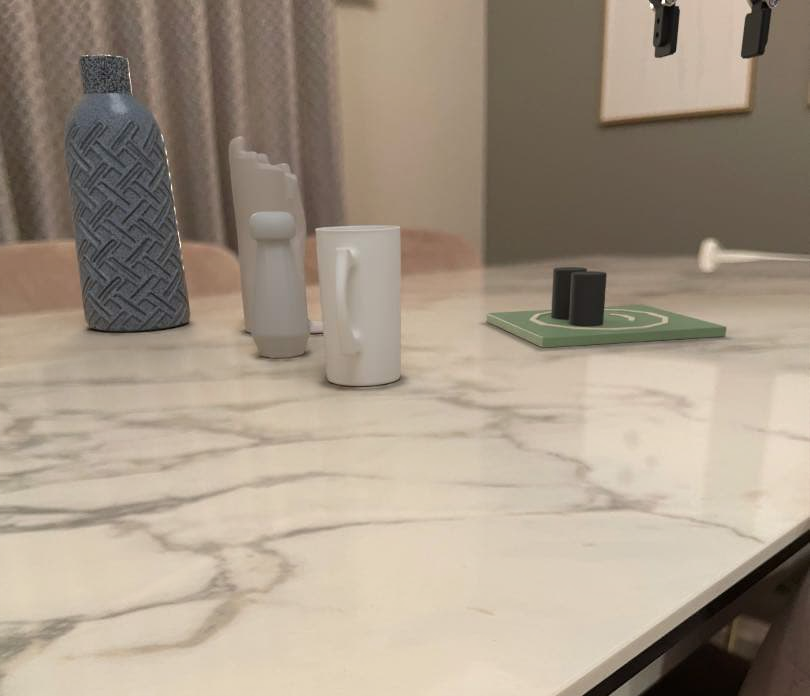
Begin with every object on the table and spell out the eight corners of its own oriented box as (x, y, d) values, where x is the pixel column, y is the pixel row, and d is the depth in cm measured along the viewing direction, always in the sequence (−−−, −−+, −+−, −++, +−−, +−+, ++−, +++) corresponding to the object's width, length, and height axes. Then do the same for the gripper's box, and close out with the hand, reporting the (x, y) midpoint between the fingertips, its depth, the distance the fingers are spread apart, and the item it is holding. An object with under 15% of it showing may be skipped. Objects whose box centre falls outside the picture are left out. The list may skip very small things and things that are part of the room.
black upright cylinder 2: (594, 320, 92) (597, 270, 90) (608, 325, 89) (612, 273, 87) (563, 322, 91) (566, 272, 89) (576, 327, 88) (579, 275, 86)
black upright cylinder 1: (576, 314, 96) (578, 266, 94) (589, 318, 93) (592, 269, 91) (546, 316, 96) (548, 267, 94) (558, 320, 92) (561, 270, 90)
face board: (642, 313, 103) (643, 303, 103) (725, 336, 87) (727, 325, 86) (486, 321, 99) (486, 311, 99) (542, 347, 83) (542, 336, 83)
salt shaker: (324, 351, 83) (316, 210, 78) (287, 361, 79) (276, 212, 74) (278, 347, 86) (268, 210, 81) (240, 356, 82) (226, 212, 77)
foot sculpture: (363, 332, 93) (356, 132, 86) (239, 335, 94) (220, 135, 86) (368, 322, 100) (361, 135, 92) (251, 324, 100) (235, 138, 93)
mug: (336, 369, 75) (329, 225, 71) (410, 371, 74) (407, 225, 69) (301, 395, 66) (290, 233, 62) (385, 398, 65) (380, 232, 60)
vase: (136, 336, 94) (95, 46, 83) (64, 328, 100) (18, 57, 89) (212, 320, 104) (184, 58, 93) (142, 315, 110) (109, 68, 99)
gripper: (788, -137, 83) (763, 62, 90) (626, -146, 80) (612, 61, 86) (840, -165, 76) (809, 52, 83) (665, -177, 73) (647, 50, 80)
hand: (708, 56), depth 85 cm, fingers open, 9 cm apart
